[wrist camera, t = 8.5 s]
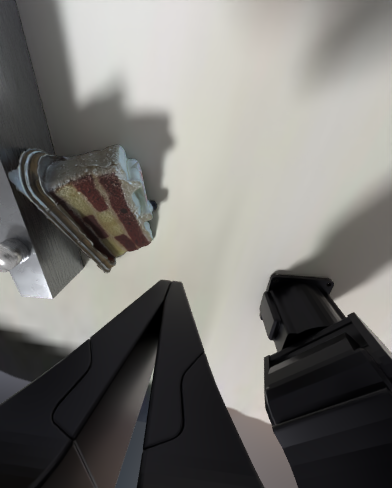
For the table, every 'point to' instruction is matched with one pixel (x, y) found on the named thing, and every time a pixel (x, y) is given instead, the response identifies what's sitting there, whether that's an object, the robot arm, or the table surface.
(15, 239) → the stop rail
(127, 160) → the chocolate cake
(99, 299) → the table surface
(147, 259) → the table surface
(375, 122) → the table surface
